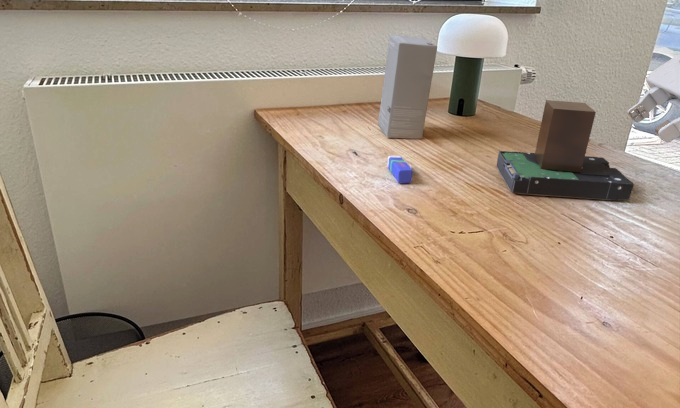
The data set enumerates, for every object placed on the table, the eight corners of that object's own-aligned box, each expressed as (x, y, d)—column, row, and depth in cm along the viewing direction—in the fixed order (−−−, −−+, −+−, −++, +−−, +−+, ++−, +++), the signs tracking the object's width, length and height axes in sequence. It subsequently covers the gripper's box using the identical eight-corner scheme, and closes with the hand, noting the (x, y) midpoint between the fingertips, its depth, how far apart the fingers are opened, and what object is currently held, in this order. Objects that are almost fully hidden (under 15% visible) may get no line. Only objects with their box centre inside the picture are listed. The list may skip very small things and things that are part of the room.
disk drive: (597, 174, 74) (494, 167, 74) (602, 156, 73) (497, 149, 73) (629, 204, 64) (511, 195, 65) (636, 183, 63) (515, 174, 64)
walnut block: (571, 160, 70) (585, 102, 67) (580, 172, 66) (596, 111, 63) (534, 156, 71) (545, 99, 68) (540, 169, 67) (553, 108, 63)
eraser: (400, 168, 73) (401, 154, 72) (411, 184, 67) (413, 169, 66) (386, 168, 72) (387, 154, 71) (397, 184, 67) (398, 169, 66)
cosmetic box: (377, 125, 93) (383, 34, 86) (415, 125, 93) (425, 35, 87) (386, 139, 85) (394, 40, 78) (427, 139, 86) (439, 41, 79)
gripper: (700, 23, 68) (604, 91, 73) (801, 38, 49) (663, 128, 55) (725, 59, 69) (629, 124, 74) (833, 88, 51) (695, 171, 56)
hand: (644, 126), depth 64 cm, fingers open, 8 cm apart
